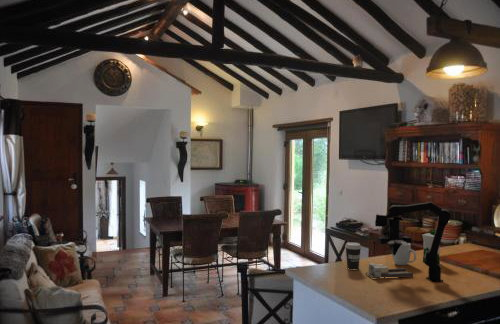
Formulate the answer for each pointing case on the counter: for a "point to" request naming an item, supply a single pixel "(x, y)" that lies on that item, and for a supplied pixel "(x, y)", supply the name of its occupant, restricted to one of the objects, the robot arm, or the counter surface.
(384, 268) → the block
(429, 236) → the milk carton
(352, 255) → the coffee cup
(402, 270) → the track
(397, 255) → the mug
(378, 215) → the robot arm
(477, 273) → the counter surface
